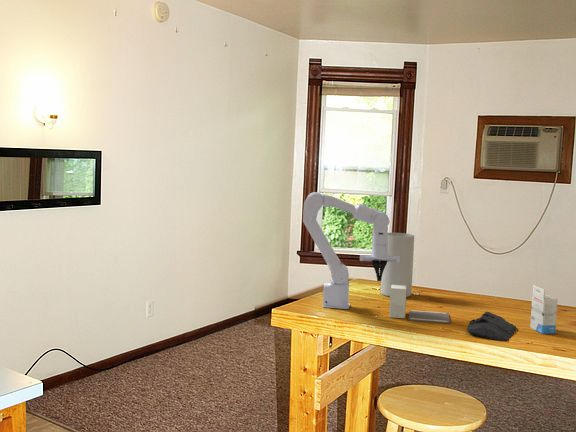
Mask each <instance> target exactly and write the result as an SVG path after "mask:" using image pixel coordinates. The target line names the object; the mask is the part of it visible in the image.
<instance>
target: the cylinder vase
mask: <svg viewBox="0 0 576 432" xmlns="http://www.w3.org/2000/svg"><path fill="white" fill-rule="evenodd" d="M414 247H415V235H414V234H413V233H407V232H406V233H404V232H388V256H398V257H400V262H387V264H386V266H385V268H384V271H383V274H382V279H381V281H380V293H381V295H383V296H385V297H389V298H390V288H391V285H392V284H394V285H406V286H407V294H406V298H408V297H409V298H410V296H412V292H413V291H412V290H413V270H414V269H413V268H414V251H415V250H414V249H415V248H414ZM383 260H385V259H383Z"/></svg>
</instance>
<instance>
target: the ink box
mask: <svg viewBox="0 0 576 432" xmlns="http://www.w3.org/2000/svg"><path fill="white" fill-rule="evenodd" d="M531 295H532V296H531V310H530V311H531V312H530V326H529V327H530V328H531V329H532V330H534V331H536V332H538V333H539V334H542V335H545V334H546V335H553V334H554V335H555V334H556V331H557V314H558V313H557V311H558V302H559V301H558V300H559V299H558V298H556V297H553V296H551V295H548V294H546V290H545V289H544V288H542V287H539V286H537V285H535V284H533V285H532V294H531Z"/></svg>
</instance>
